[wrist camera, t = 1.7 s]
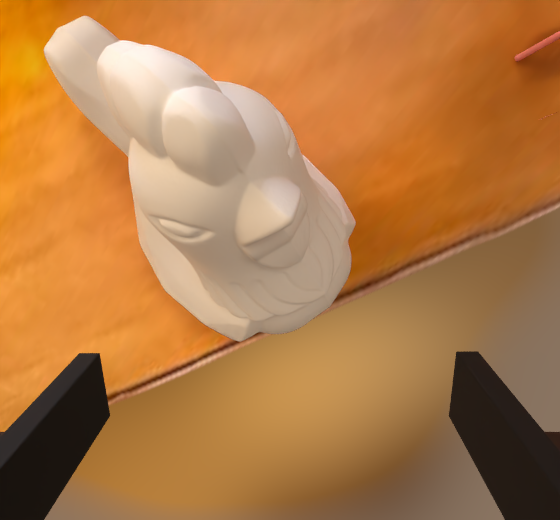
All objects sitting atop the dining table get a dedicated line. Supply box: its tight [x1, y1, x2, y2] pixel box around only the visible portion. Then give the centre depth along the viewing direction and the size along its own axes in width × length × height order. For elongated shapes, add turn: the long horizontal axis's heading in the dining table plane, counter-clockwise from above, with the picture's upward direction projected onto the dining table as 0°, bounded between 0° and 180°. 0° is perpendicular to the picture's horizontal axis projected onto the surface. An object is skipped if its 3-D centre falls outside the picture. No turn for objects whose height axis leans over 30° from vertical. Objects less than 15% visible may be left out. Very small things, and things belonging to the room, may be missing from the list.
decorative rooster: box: [44, 16, 356, 342], centre depth 30 cm, size 25×16×25 cm
